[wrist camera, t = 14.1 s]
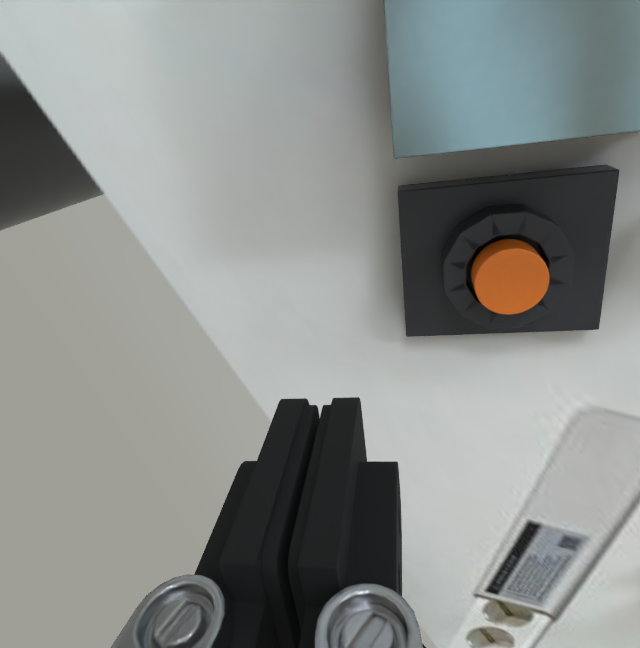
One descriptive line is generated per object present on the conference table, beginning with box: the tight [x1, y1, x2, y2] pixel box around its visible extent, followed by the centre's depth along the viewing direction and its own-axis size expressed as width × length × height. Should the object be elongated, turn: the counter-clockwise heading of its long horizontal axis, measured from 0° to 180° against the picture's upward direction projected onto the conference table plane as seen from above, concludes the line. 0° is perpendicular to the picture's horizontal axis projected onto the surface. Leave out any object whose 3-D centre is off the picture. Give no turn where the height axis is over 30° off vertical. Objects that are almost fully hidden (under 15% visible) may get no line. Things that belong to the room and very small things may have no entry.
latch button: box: [471, 239, 549, 315], centre depth 25 cm, size 4×4×2 cm
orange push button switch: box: [398, 165, 619, 336], centre depth 27 cm, size 11×9×4 cm
